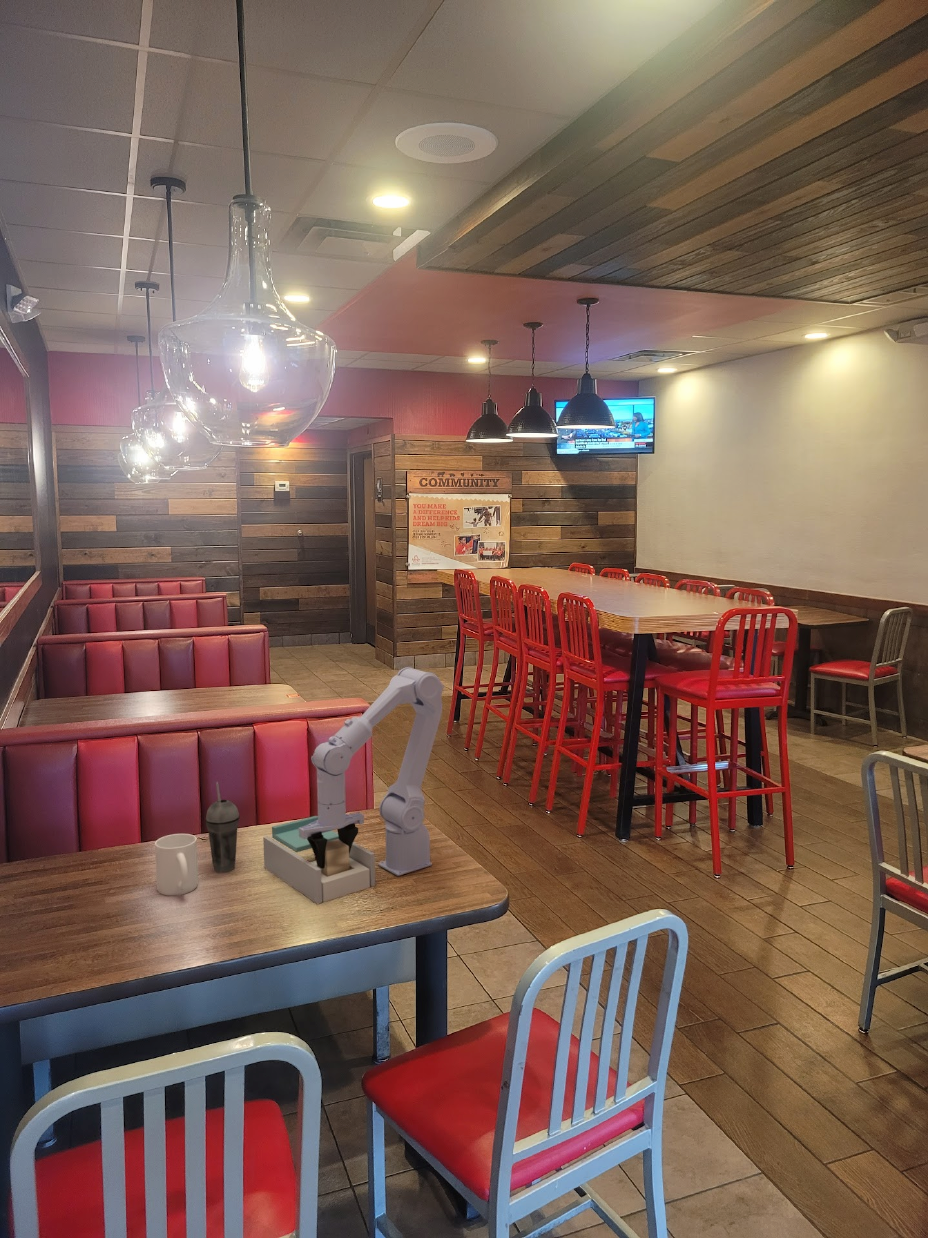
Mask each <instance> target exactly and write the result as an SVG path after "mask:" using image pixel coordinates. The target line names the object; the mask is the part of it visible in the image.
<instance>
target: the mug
mask: <svg viewBox="0 0 928 1238" xmlns="http://www.w3.org/2000/svg"><path fill="white" fill-rule="evenodd" d="M197 841H198V839H197V837H196V836H195V835H193V834H190V833H173V834H169V835H164V836H162V837H160V838H157V840H156V841H155V842H154V854H155V855H154V856H155V857H154V859H155V860H154V861H155V880H156V890H157V891H158V892H159V894H162V895H164V896H168V897H172V896H173V897H174V896H181V895H186V894H188V893H190V892H193V891H194V890H195V889H197V887H198V884H199V867H198V866H199V865H198V864H199V863H198V842H197Z"/></svg>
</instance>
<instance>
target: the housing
mask: <svg viewBox="0 0 928 1238" xmlns="http://www.w3.org/2000/svg"><path fill="white" fill-rule="evenodd" d="M336 833H337V834H338V832H336ZM263 867H264V869H266V870H267V871H268V872H270V873H271V874H273V875H274V876H276V877H278V878H279V879H280V880H282V881H283V882H285V883H286V884H288V885H289V886H291V887H292V888H294V889H295V890H296V891H298V892H299V893H300V894H302V895H303V896H305V897H306V898H308V899H310V900H311V901H312V902H314V903H315V904H316V905H319V904H322V903H325V902H328V901H331V900H335V899H339V898H341V897H345V896H346V895H350V894H353V893H357V892H360V891H362V890H366V889H369V888H370V887H371V888H372V887H375V886H376V853H375V852H373V851H371V850H369V849H367V848H366V847H363V846H361V845H360V844H358V843H356V842H355V841H354V842H353V844H352V847H351V850H350V854H349V870H348V871H345V872H341V873H338V874H335V875H331V876H328V877H327V876H325V875H324V874H322V873H321V869H320V868H318V867H317V862H316V860H314V861H308V860H307V859H305V858H304V857H302V856H301V855H299V854H297V852H295V851H293V850H292V849H290V848H288V847H287V846H285V845H284V844H282V843H280V842H279V841H277V840H275V839H274V838H272V837H270V836H268V835H267V836H263Z"/></svg>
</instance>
